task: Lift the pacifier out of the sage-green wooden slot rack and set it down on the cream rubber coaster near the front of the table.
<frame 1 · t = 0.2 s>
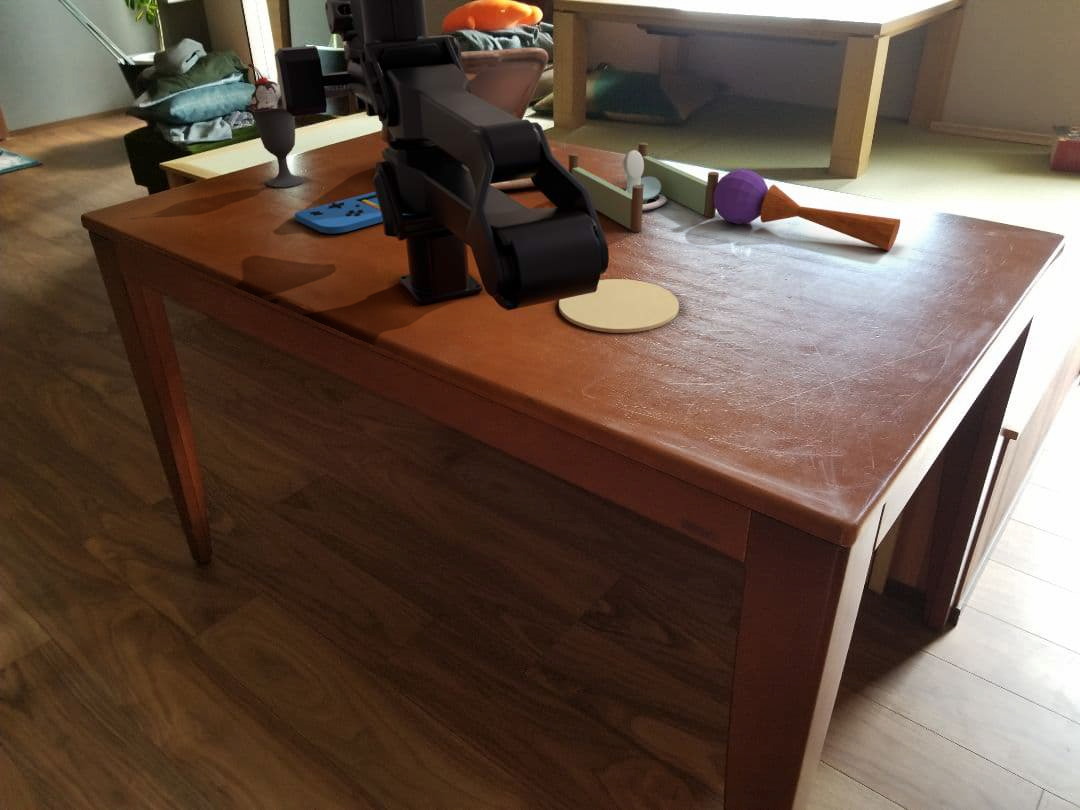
hand: (352, 64, 96), 17 cm above the table, tool horizontal, fingers open, 9 cm apart
case: (470, 174, 117), on the table, touching handheld gaming device
pacifier: (639, 206, 105), on the table
kendama: (798, 235, 95), on the table
sundae: (285, 183, 116), on the table
handheld gaming device: (367, 214, 104), on the table, touching case
rack: (639, 204, 105), on the table
coaster: (618, 306, 80), on the table
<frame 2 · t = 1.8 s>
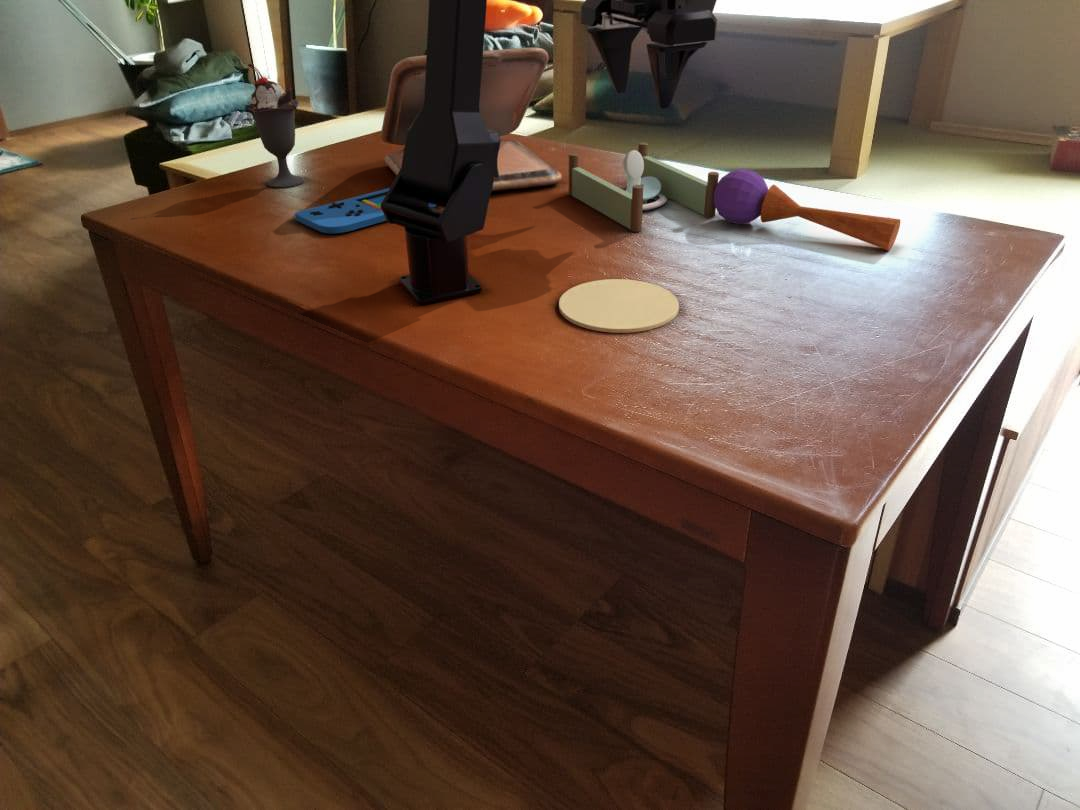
hand: (642, 100, 99), 12 cm above the table, tool pointing down, fingers open, 9 cm apart
nothing on the table moved.
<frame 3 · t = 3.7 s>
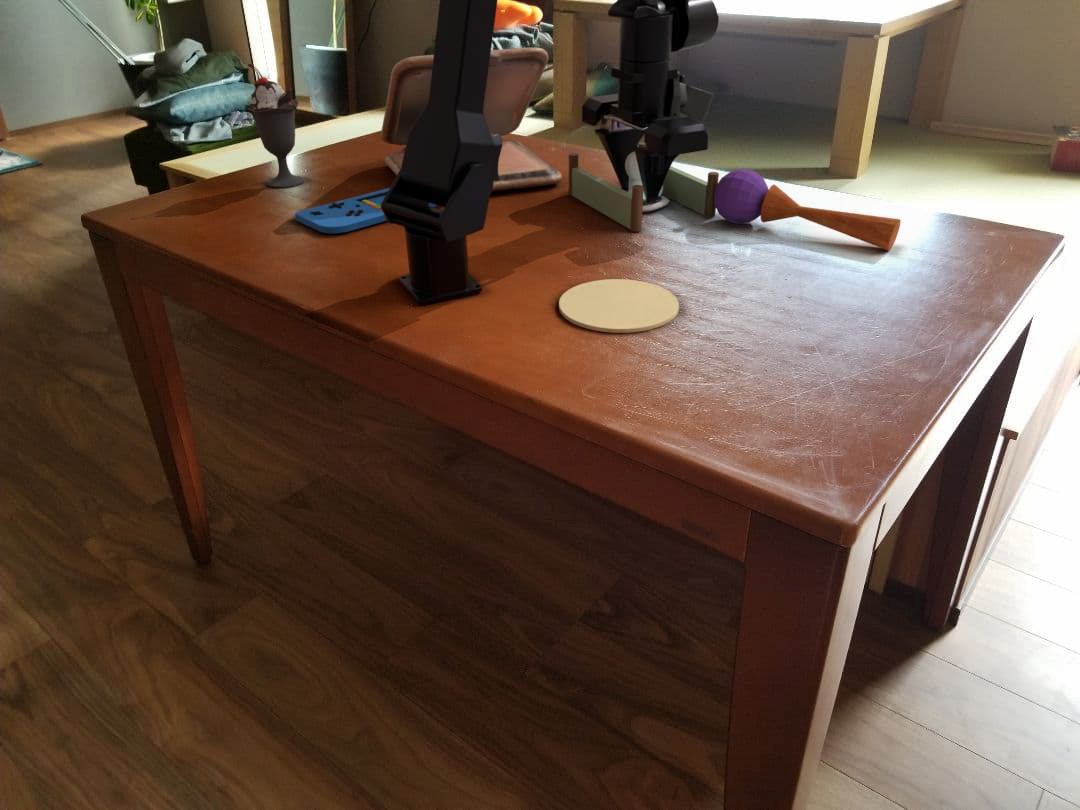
hand: (639, 196, 104), 1 cm above the table, tool pointing down, fingers closed on pacifier, 5 cm apart
pacifier: (640, 207, 104), on the table, touching gripper
everything else where it was.
when the fingers open (1 cm above the table, at t = 10.1 s): pacifier stays where it is, resting on coaster.
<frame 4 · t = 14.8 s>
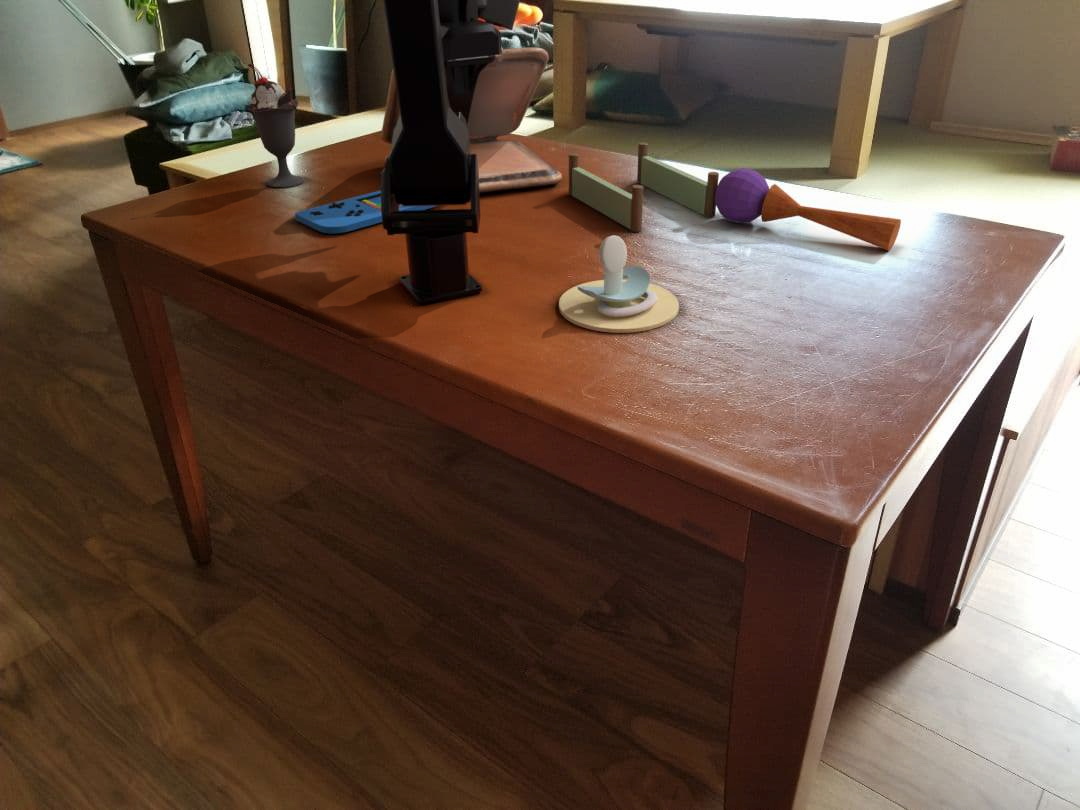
hand: (446, 116, 94), 12 cm above the table, tool pointing down, fingers open, 9 cm apart
pacifier: (620, 306, 79), resting on coaster
everything else where it was.
at the end: pacifier inside the target area on the coaster (0.5 cm from its centre), point 0.2 cm above the coaster's base; pacifier touching coaster; the gripper is holding nothing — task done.
